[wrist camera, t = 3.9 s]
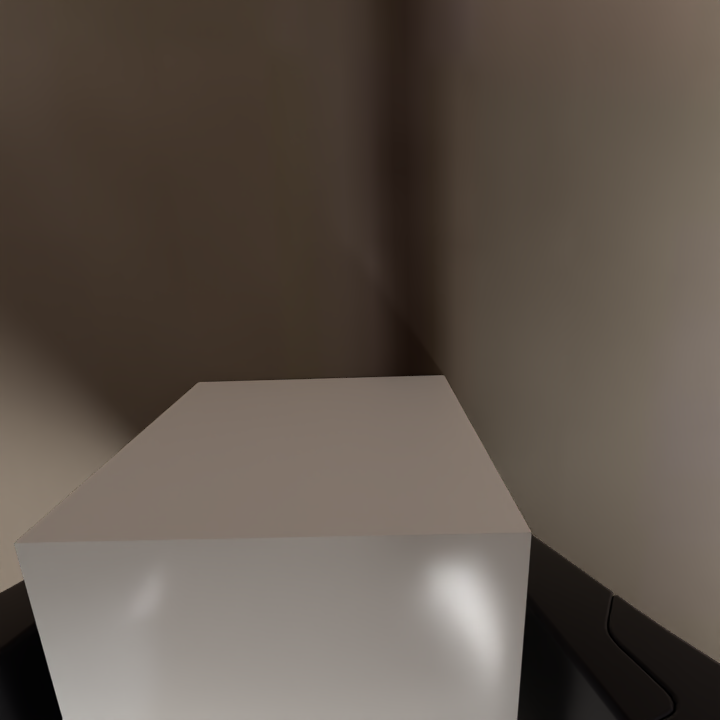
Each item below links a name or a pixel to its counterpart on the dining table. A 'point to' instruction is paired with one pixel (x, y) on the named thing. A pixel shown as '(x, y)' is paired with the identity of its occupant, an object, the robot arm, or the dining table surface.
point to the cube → (287, 562)
